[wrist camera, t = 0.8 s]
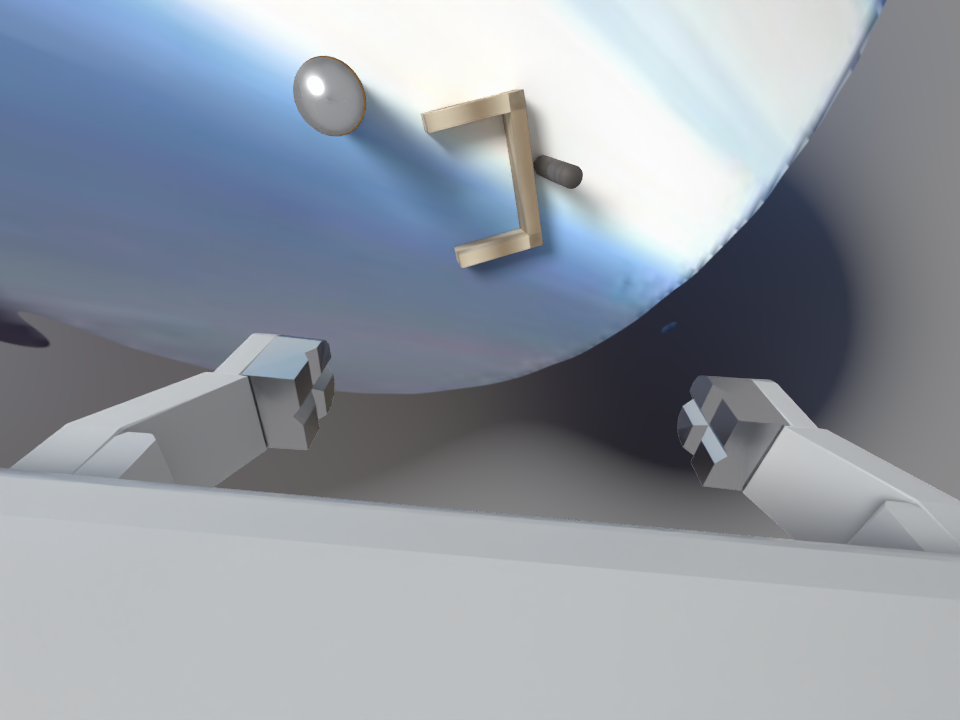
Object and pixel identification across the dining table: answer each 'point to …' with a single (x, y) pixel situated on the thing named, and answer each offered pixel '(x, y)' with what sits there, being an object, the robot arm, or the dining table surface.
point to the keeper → (521, 170)
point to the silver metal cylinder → (329, 96)
